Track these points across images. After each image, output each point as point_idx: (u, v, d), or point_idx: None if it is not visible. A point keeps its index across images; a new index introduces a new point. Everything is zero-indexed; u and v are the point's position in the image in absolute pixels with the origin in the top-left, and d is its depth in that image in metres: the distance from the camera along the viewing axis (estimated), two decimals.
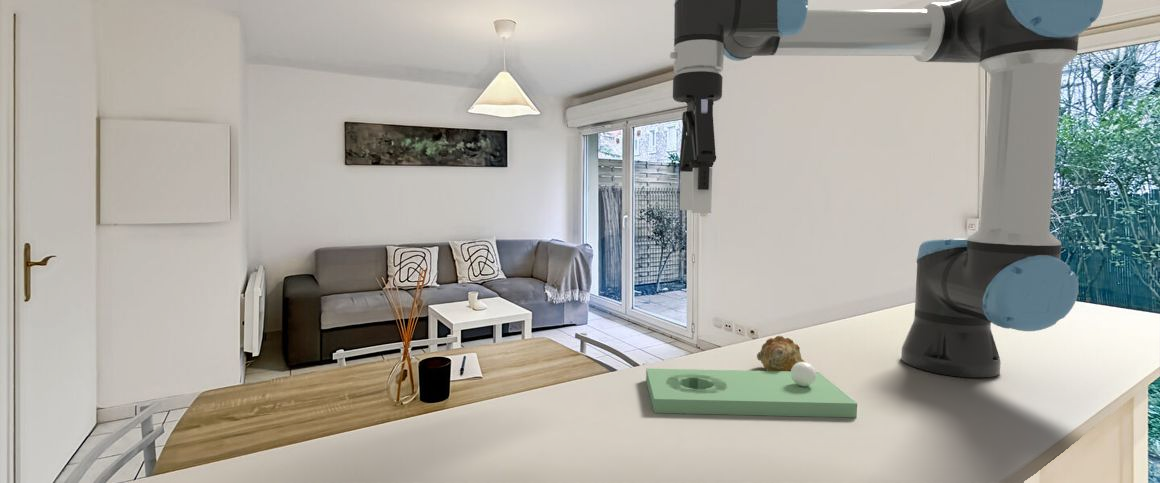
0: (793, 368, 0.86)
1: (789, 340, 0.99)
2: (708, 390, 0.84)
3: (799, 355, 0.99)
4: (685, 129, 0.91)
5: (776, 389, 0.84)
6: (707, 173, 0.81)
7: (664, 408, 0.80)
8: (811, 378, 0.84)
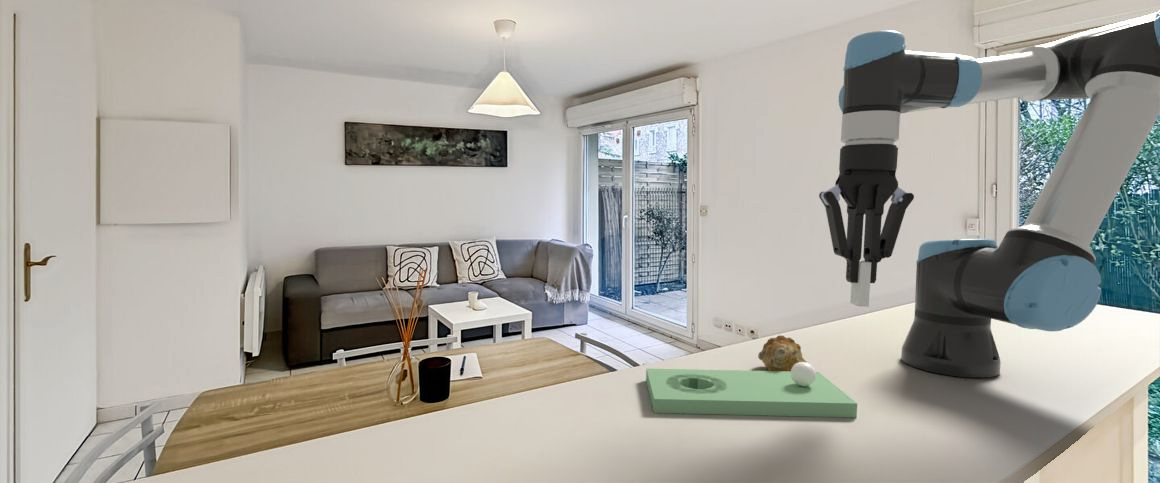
0: (793, 368, 0.86)
1: (790, 339, 1.00)
2: (708, 390, 0.84)
3: (800, 354, 1.00)
4: None
5: (776, 389, 0.84)
6: (850, 266, 0.84)
7: (664, 408, 0.80)
8: (811, 378, 0.84)
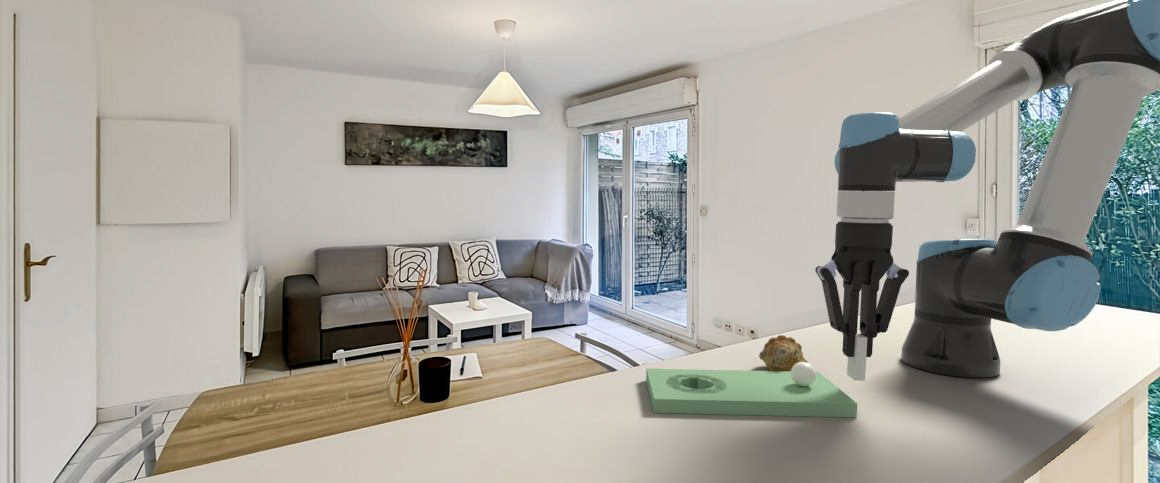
0: (793, 368, 0.86)
1: (791, 339, 1.00)
2: (708, 390, 0.84)
3: (801, 354, 1.00)
4: None
5: (776, 389, 0.84)
6: (846, 341, 0.85)
7: (664, 408, 0.80)
8: (811, 378, 0.84)
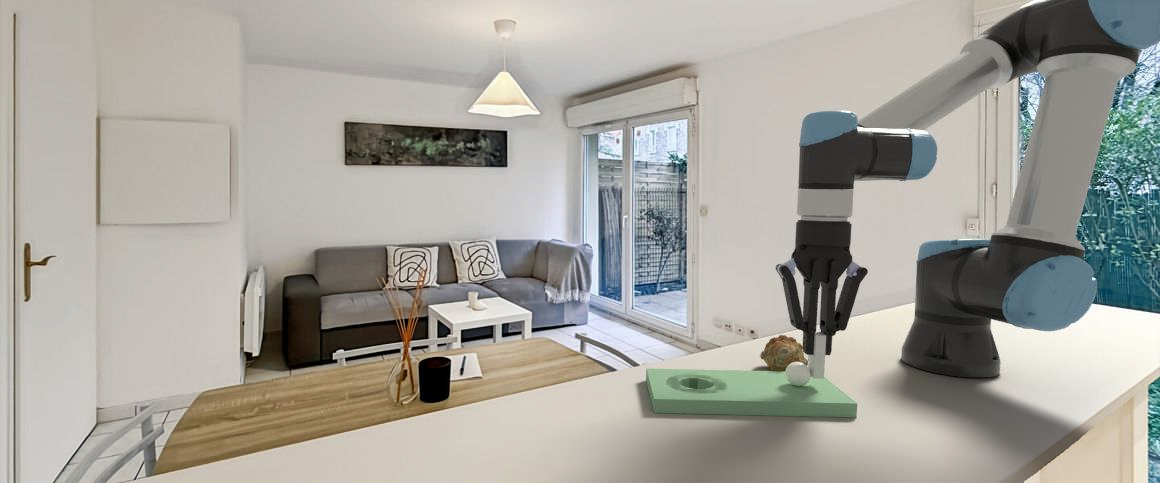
0: (786, 372, 0.86)
1: (792, 339, 1.00)
2: (708, 390, 0.84)
3: (802, 354, 1.00)
4: None
5: (776, 389, 0.84)
6: (805, 339, 0.85)
7: (664, 408, 0.80)
8: (806, 376, 0.84)
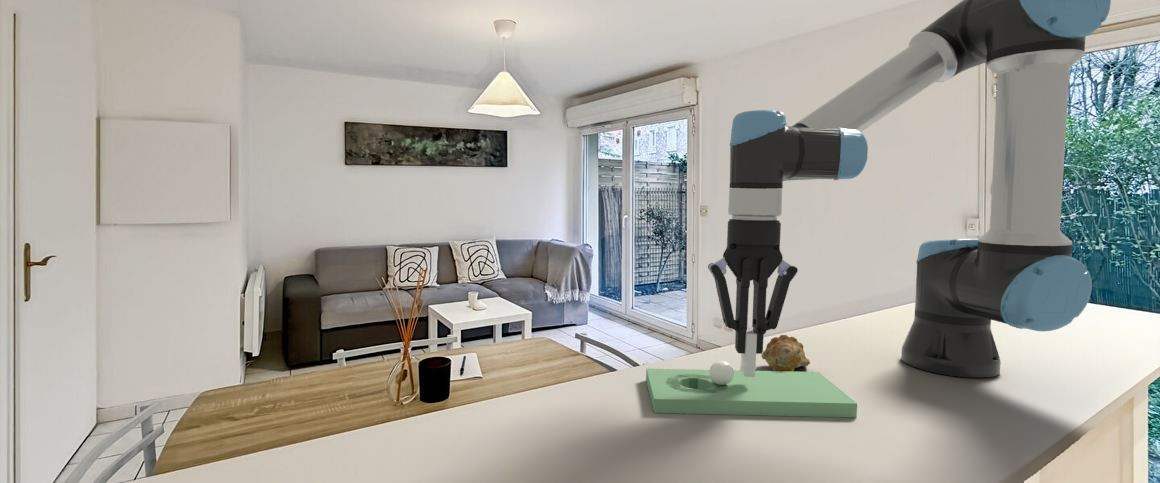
0: (709, 372, 0.86)
1: (793, 339, 1.01)
2: (708, 390, 0.84)
3: (803, 353, 1.00)
4: None
5: (776, 389, 0.84)
6: (737, 337, 0.85)
7: (664, 408, 0.80)
8: (728, 374, 0.84)
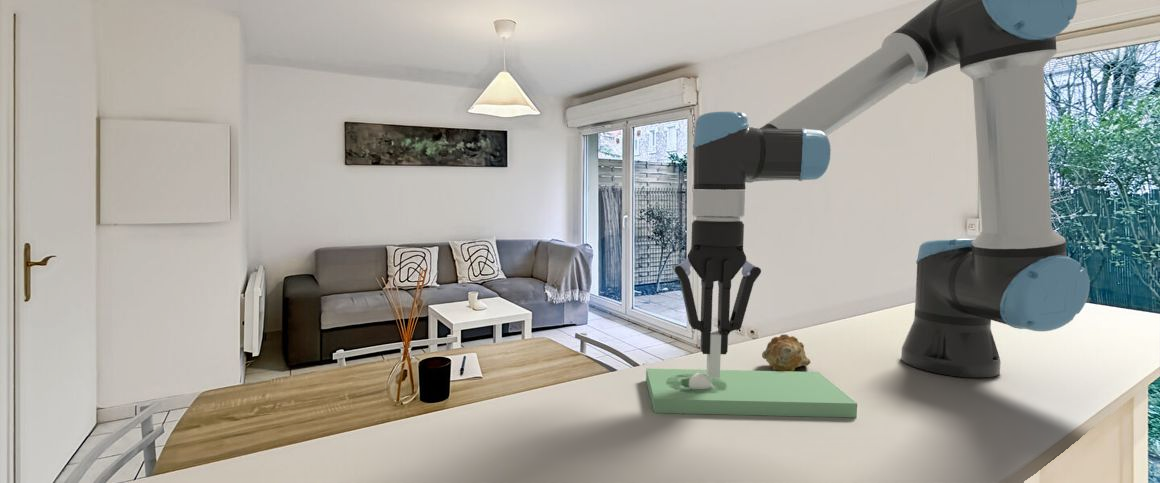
0: None
1: (794, 338, 1.01)
2: (708, 390, 0.84)
3: (804, 353, 1.01)
4: None
5: (776, 389, 0.84)
6: (702, 338, 0.86)
7: (664, 408, 0.80)
8: (699, 385, 0.85)
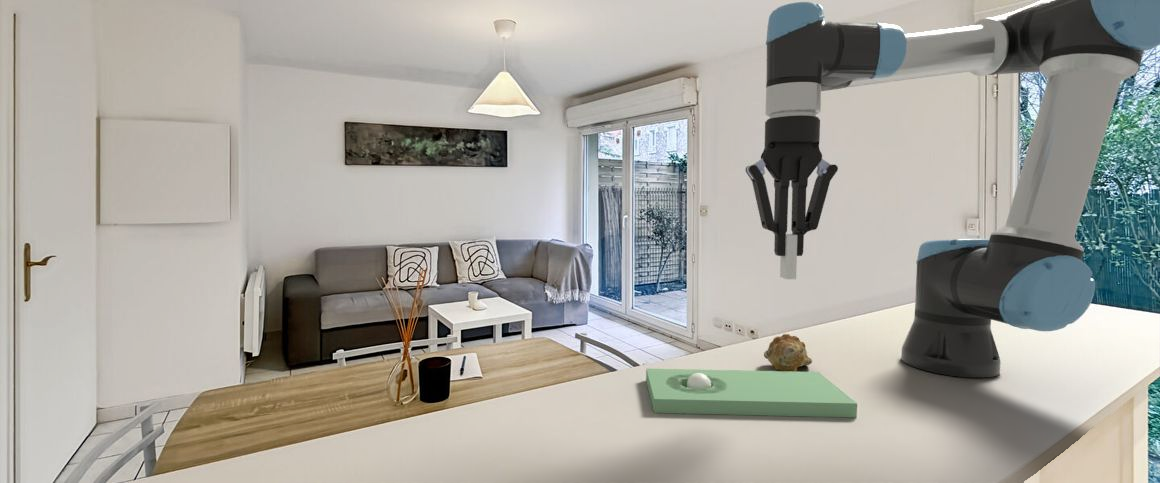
0: None
1: (795, 338, 1.01)
2: (708, 390, 0.84)
3: (805, 352, 1.01)
4: None
5: (776, 389, 0.84)
6: (777, 240, 0.84)
7: (664, 408, 0.80)
8: (697, 386, 0.85)
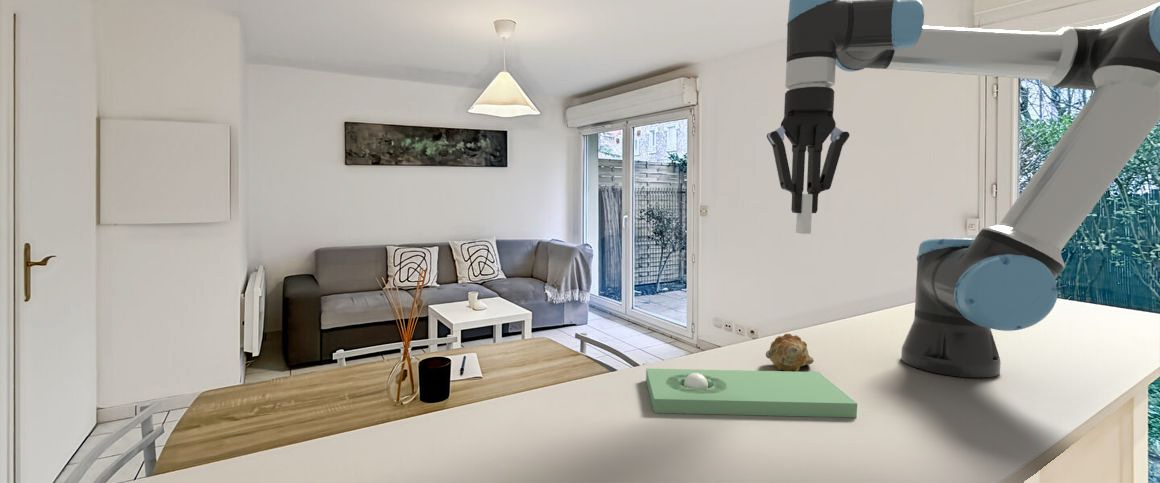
0: None
1: (797, 337, 1.01)
2: (708, 390, 0.84)
3: (807, 352, 1.01)
4: None
5: (776, 389, 0.84)
6: (794, 199, 0.94)
7: (664, 408, 0.80)
8: (693, 386, 0.85)
